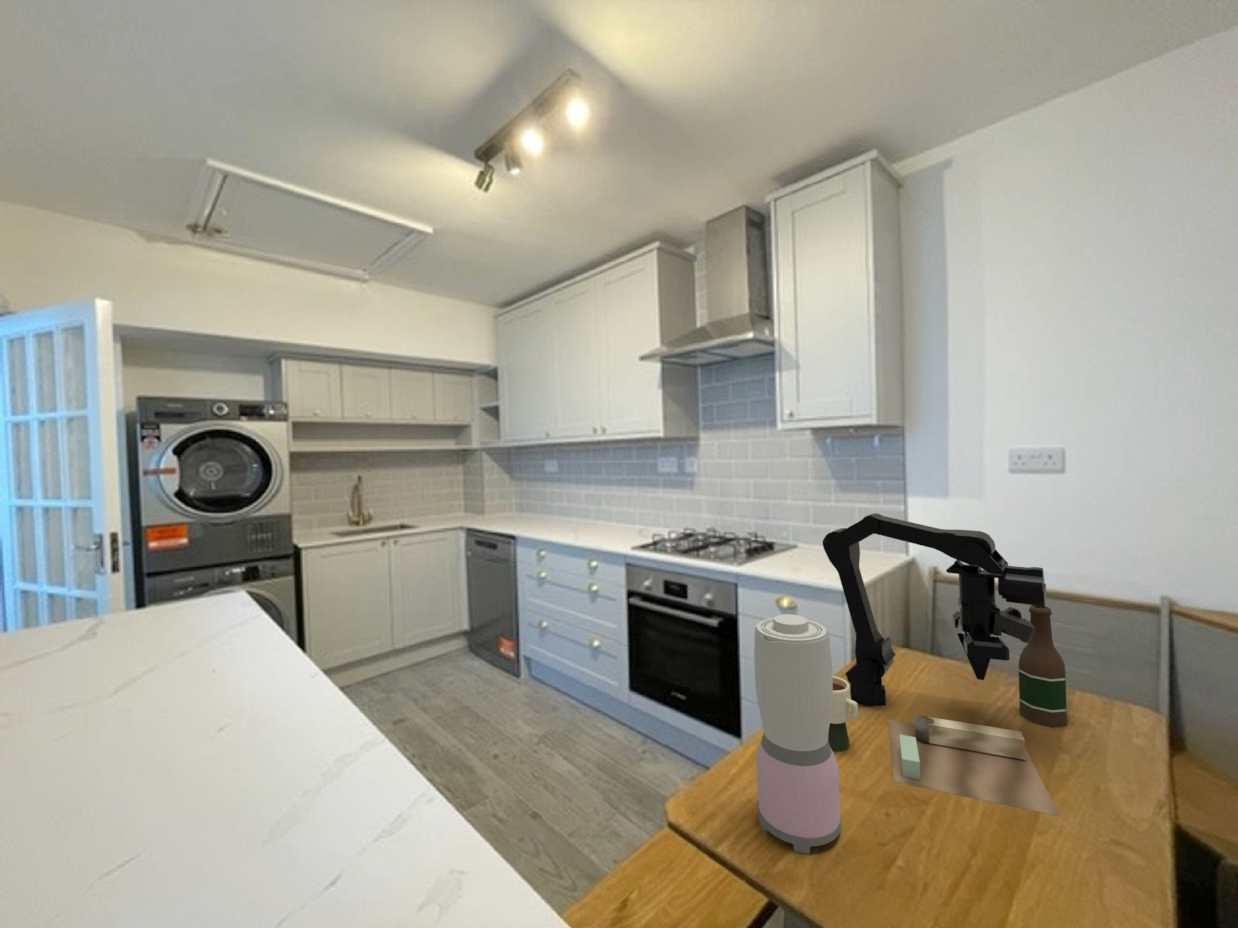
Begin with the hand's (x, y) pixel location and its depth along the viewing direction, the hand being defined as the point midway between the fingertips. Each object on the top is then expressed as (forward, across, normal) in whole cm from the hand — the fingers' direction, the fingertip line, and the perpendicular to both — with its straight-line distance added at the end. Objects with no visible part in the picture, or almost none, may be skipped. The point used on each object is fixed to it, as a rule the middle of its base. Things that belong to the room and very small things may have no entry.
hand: (979, 677), depth 99 cm
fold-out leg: (+10, -7, +3) cm, 13 cm away
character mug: (+12, -14, +26) cm, 32 cm away
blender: (+12, -35, +29) cm, 47 cm away
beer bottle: (+12, +10, -12) cm, 20 cm away
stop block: (+10, -16, +13) cm, 24 cm away
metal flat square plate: (+12, -12, +5) cm, 18 cm away
